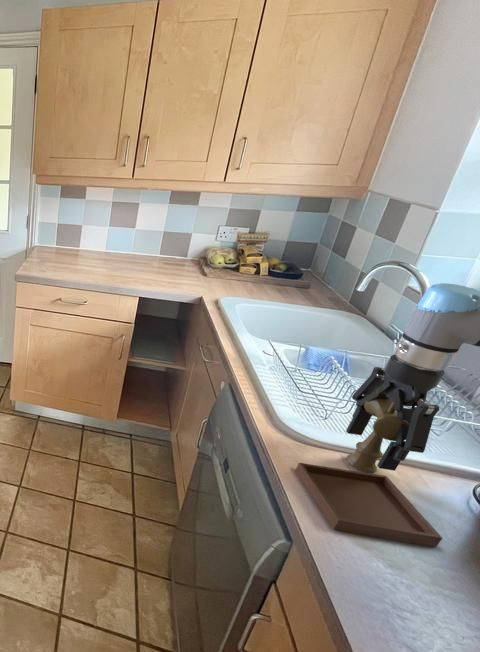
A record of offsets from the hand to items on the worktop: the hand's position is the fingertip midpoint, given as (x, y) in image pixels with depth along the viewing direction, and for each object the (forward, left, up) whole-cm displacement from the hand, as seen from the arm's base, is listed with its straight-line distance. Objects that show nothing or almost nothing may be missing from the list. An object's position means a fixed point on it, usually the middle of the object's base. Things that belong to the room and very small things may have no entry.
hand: (368, 449), depth 89 cm
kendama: (0, 0, -5) cm, 5 cm away
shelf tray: (+7, +12, -5) cm, 15 cm away
